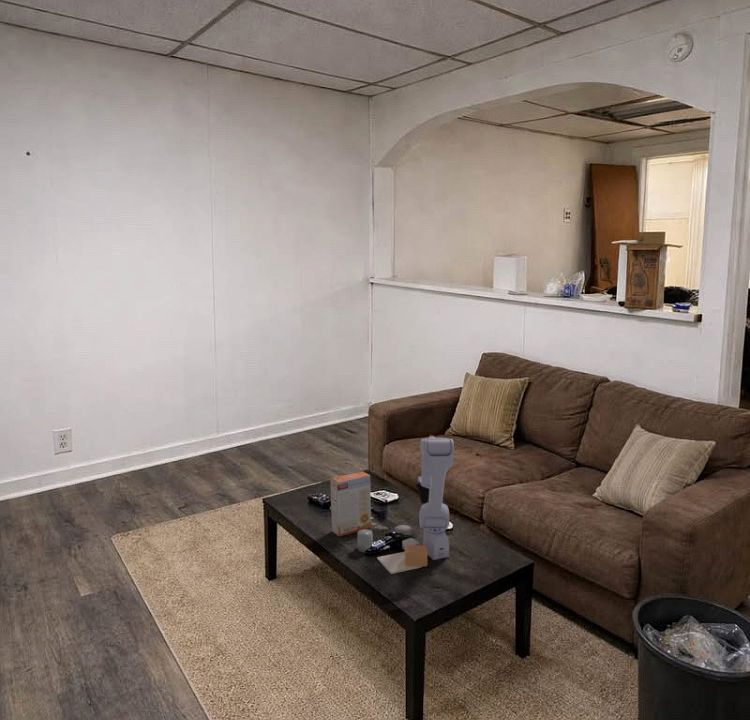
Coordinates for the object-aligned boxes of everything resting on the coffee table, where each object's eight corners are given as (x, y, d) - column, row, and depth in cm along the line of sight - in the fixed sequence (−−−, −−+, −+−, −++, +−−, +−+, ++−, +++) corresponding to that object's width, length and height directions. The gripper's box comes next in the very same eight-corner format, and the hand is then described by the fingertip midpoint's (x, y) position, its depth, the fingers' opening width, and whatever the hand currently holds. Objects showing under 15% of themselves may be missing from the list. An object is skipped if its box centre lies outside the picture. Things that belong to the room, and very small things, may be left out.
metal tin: (420, 551, 216) (420, 543, 215) (411, 554, 213) (411, 546, 213) (411, 545, 220) (411, 537, 219) (402, 548, 217) (402, 540, 217)
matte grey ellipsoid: (414, 536, 227) (414, 530, 226) (399, 539, 224) (399, 533, 224) (406, 530, 232) (406, 523, 232) (392, 533, 230) (392, 526, 229)
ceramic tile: (421, 567, 204) (421, 565, 204) (390, 574, 200) (390, 572, 200) (406, 552, 214) (406, 551, 214) (377, 558, 210) (377, 557, 210)
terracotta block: (404, 559, 208) (425, 559, 208) (405, 566, 203) (427, 566, 203) (404, 545, 207) (426, 544, 207) (405, 552, 202) (427, 552, 203)
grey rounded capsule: (374, 550, 216) (374, 534, 215) (360, 553, 214) (360, 537, 213) (369, 544, 220) (369, 528, 219) (355, 547, 218) (355, 530, 217)
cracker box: (363, 522, 238) (363, 470, 235) (371, 528, 233) (371, 475, 230) (330, 531, 231) (329, 477, 227) (338, 537, 226) (337, 482, 222)
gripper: (448, 476, 222) (448, 512, 225) (429, 463, 235) (429, 498, 238) (431, 478, 220) (430, 515, 222) (412, 466, 233) (412, 500, 235)
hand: (428, 506), depth 230 cm, fingers open, 7 cm apart
